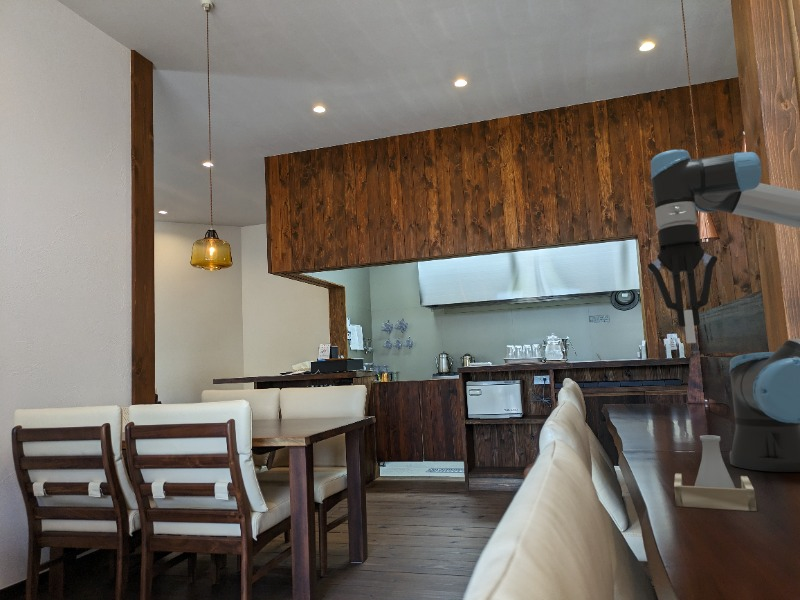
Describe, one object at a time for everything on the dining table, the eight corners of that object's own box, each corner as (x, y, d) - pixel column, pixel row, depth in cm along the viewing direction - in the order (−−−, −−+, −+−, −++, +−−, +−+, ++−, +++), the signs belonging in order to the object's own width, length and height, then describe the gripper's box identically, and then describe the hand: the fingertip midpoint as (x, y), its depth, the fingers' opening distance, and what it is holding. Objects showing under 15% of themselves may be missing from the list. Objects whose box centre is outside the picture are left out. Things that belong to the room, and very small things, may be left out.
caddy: (676, 490, 102) (675, 473, 102) (749, 494, 97) (747, 476, 97) (675, 506, 91) (674, 486, 92) (756, 511, 87) (754, 490, 87)
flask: (749, 503, 92) (742, 438, 93) (700, 503, 93) (694, 439, 94) (730, 492, 99) (724, 433, 100) (685, 493, 100) (680, 434, 101)
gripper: (642, 228, 117) (656, 345, 114) (715, 218, 112) (731, 340, 109) (642, 235, 123) (655, 345, 121) (711, 226, 119) (725, 341, 116)
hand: (691, 342), depth 115 cm, fingers closed
